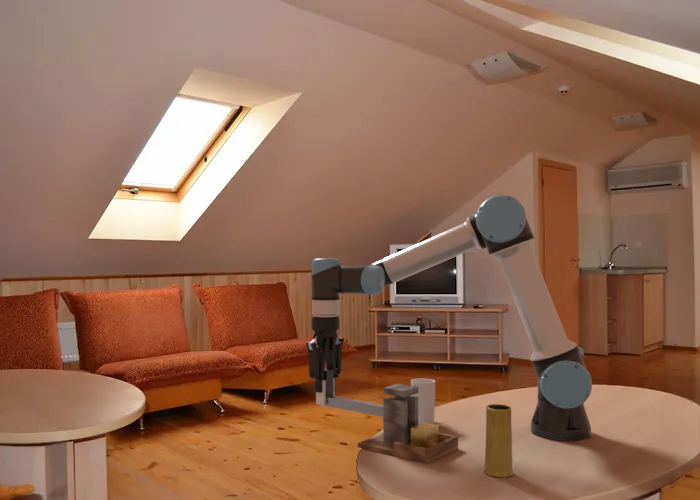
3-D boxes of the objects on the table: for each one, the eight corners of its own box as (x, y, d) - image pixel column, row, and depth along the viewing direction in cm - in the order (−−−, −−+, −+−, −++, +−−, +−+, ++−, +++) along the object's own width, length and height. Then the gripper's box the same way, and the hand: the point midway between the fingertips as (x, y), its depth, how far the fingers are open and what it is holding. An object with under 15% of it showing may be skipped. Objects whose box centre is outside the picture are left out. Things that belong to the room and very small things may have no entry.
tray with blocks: (458, 448, 154) (458, 388, 154) (428, 463, 143) (429, 399, 143) (389, 434, 166) (389, 378, 166) (357, 447, 155) (357, 387, 155)
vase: (480, 468, 140) (480, 403, 140) (507, 467, 141) (507, 403, 141) (489, 478, 134) (489, 410, 134) (517, 477, 134) (517, 410, 135)
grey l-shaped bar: (404, 417, 157) (404, 379, 157) (397, 420, 155) (397, 381, 155) (324, 402, 173) (325, 368, 173) (317, 404, 170) (317, 369, 170)
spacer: (424, 442, 156) (438, 445, 153) (411, 448, 151) (425, 451, 148) (424, 422, 156) (438, 425, 153) (411, 427, 151) (425, 430, 148)
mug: (432, 428, 173) (432, 383, 173) (408, 425, 175) (408, 382, 175) (439, 419, 182) (439, 377, 182) (416, 417, 184) (416, 375, 184)
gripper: (333, 312, 179) (333, 395, 179) (294, 317, 167) (294, 406, 166) (354, 314, 175) (354, 399, 175) (316, 318, 162) (316, 410, 162)
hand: (325, 402), depth 171 cm, fingers closed on grey l-shaped bar, 3 cm apart
